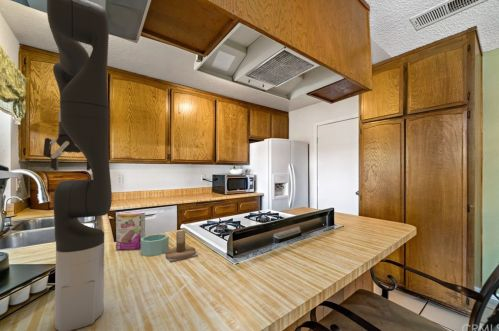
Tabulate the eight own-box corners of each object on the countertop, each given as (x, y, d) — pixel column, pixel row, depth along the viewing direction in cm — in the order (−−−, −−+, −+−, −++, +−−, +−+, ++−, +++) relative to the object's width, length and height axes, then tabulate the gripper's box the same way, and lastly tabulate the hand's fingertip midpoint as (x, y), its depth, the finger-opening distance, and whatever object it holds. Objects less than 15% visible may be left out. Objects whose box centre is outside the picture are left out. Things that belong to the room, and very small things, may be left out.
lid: (199, 255, 88) (199, 233, 88) (168, 261, 81) (168, 238, 82) (191, 246, 98) (191, 227, 98) (163, 251, 92) (163, 231, 92)
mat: (197, 256, 88) (197, 254, 88) (169, 262, 82) (169, 260, 82) (190, 248, 97) (190, 247, 97) (165, 253, 91) (165, 252, 91)
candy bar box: (115, 250, 96) (115, 214, 96) (121, 246, 101) (121, 212, 101) (140, 250, 96) (140, 213, 96) (145, 246, 101) (145, 211, 101)
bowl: (169, 252, 92) (169, 238, 93) (141, 258, 87) (141, 243, 87) (165, 245, 102) (165, 232, 102) (139, 249, 96) (140, 236, 96)
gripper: (41, 117, 65) (40, 170, 65) (97, 122, 72) (97, 170, 72) (48, 123, 72) (47, 170, 71) (99, 127, 79) (99, 170, 78)
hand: (72, 170), depth 71 cm, fingers open, 8 cm apart
